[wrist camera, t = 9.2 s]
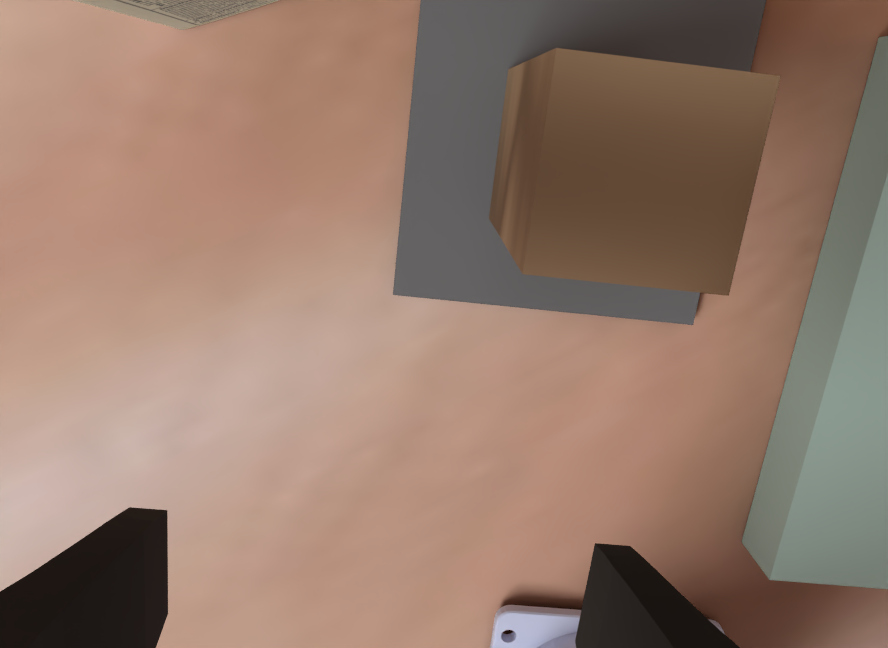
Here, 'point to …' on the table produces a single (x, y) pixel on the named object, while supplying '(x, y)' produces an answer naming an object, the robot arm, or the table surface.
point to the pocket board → (837, 388)
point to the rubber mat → (478, 129)
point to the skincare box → (179, 10)
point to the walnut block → (629, 168)
